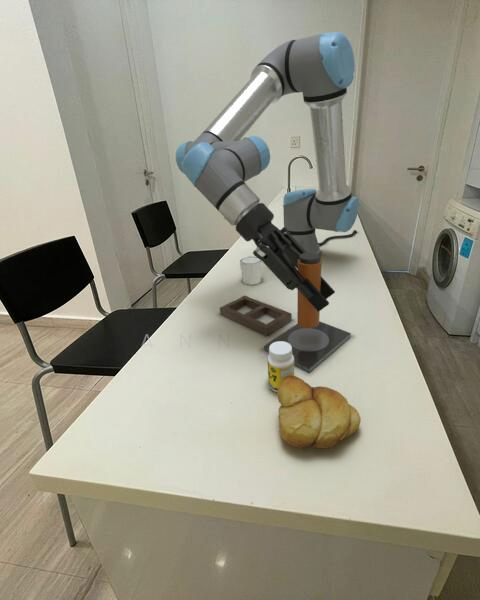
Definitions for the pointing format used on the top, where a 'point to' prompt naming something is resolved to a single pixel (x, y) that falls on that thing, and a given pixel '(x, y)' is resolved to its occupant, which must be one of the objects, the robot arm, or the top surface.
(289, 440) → the bread roll
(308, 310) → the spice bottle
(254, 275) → the white short cylinder
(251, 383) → the top surface
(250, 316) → the frame
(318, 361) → the hob plate
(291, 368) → the supplement bottle
